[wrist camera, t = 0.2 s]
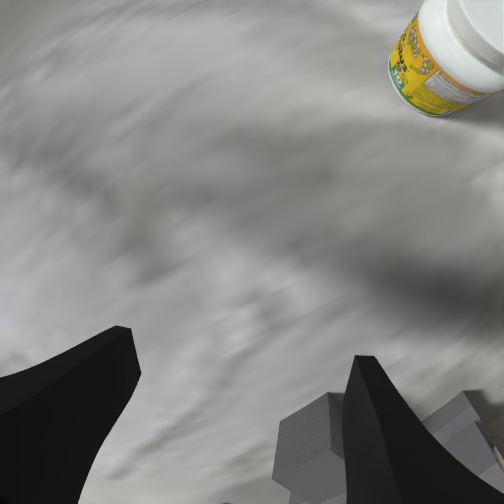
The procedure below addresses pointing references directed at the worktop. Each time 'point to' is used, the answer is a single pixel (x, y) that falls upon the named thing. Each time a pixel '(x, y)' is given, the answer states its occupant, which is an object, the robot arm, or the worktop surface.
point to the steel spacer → (312, 451)
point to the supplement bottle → (449, 55)
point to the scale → (457, 444)
